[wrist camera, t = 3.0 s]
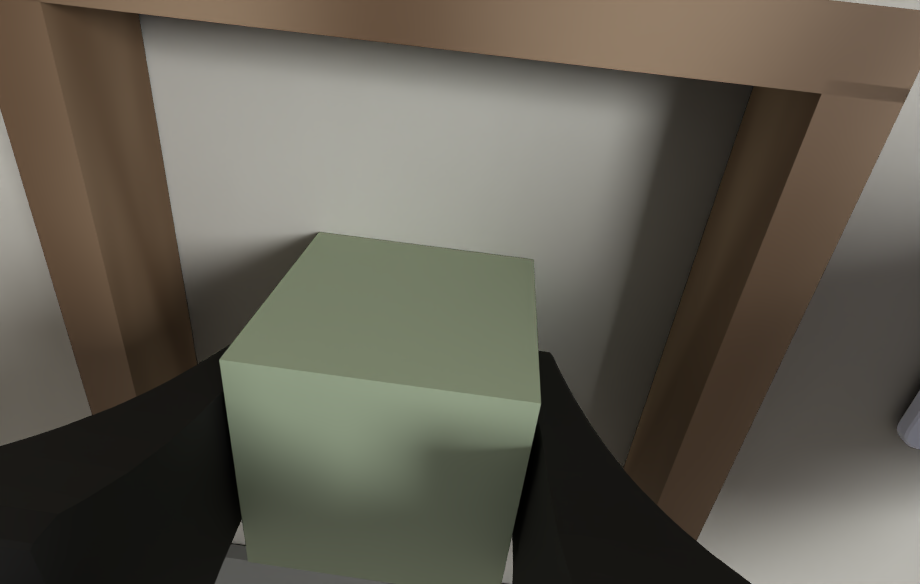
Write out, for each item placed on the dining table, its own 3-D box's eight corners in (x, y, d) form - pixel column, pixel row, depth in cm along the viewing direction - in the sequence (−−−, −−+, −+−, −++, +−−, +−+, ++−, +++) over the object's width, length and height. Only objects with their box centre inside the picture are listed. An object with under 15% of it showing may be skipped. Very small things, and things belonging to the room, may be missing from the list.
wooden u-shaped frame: (852, 5, 10) (946, 12, 8) (661, 485, 16) (684, 566, 14) (60, -84, 10) (-62, -100, 8) (166, 416, 16) (112, 483, 14)
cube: (533, 260, 13) (541, 403, 9) (503, 422, 15) (497, 598, 11) (319, 232, 13) (219, 359, 9) (323, 398, 16) (248, 562, 11)
